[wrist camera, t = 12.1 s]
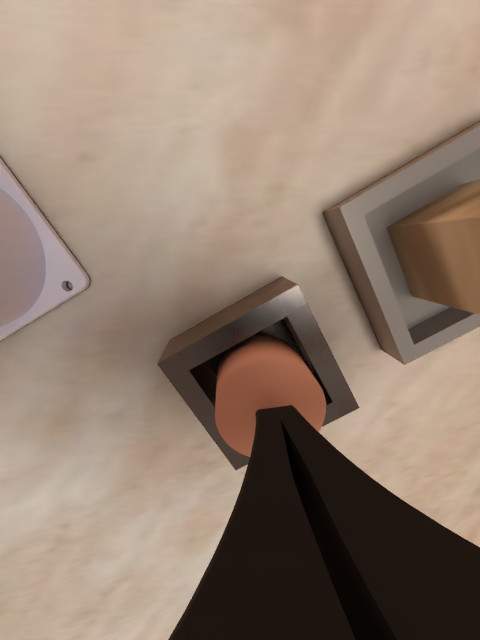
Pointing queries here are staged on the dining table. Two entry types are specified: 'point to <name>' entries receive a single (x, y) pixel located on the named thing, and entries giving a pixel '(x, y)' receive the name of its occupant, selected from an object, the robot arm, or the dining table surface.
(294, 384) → the button
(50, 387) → the dining table surface
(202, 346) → the button housing
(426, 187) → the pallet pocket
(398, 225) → the block
